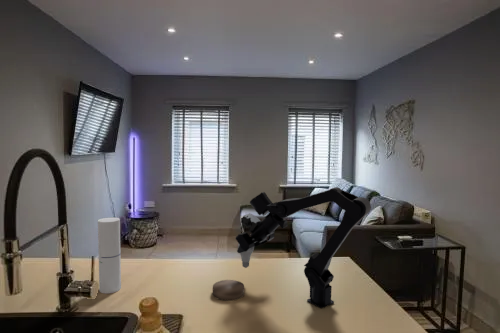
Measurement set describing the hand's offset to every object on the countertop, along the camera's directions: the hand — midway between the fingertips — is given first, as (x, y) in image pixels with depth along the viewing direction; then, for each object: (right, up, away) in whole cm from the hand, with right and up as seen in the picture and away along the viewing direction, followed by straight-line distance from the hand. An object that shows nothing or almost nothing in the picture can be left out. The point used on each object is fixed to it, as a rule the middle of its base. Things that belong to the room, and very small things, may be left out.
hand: (242, 249), depth 132 cm
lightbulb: (+1, -7, 0) cm, 7 cm away
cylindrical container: (-47, -12, -8) cm, 49 cm away
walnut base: (-5, -13, -10) cm, 17 cm away
